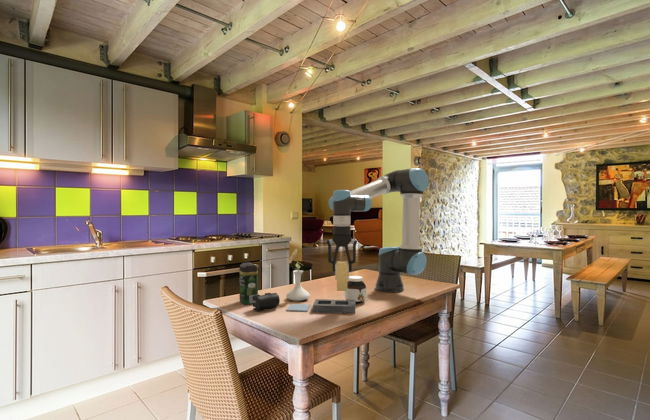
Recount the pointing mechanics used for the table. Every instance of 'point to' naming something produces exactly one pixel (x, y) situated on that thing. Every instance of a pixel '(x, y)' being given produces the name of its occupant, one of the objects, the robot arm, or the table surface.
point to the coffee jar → (248, 282)
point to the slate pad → (298, 307)
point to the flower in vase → (297, 283)
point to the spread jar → (355, 289)
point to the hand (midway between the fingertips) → (342, 278)
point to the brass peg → (342, 276)
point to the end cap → (266, 301)
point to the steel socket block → (334, 306)
